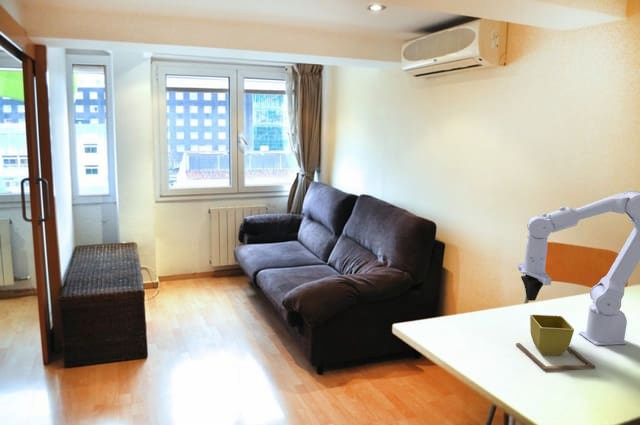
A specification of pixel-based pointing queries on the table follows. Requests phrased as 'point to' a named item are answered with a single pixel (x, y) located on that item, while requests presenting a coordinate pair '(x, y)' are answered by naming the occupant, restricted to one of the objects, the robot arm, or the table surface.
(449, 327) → the table surface
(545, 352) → the flower pot
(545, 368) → the brown wooden open-sided frame
